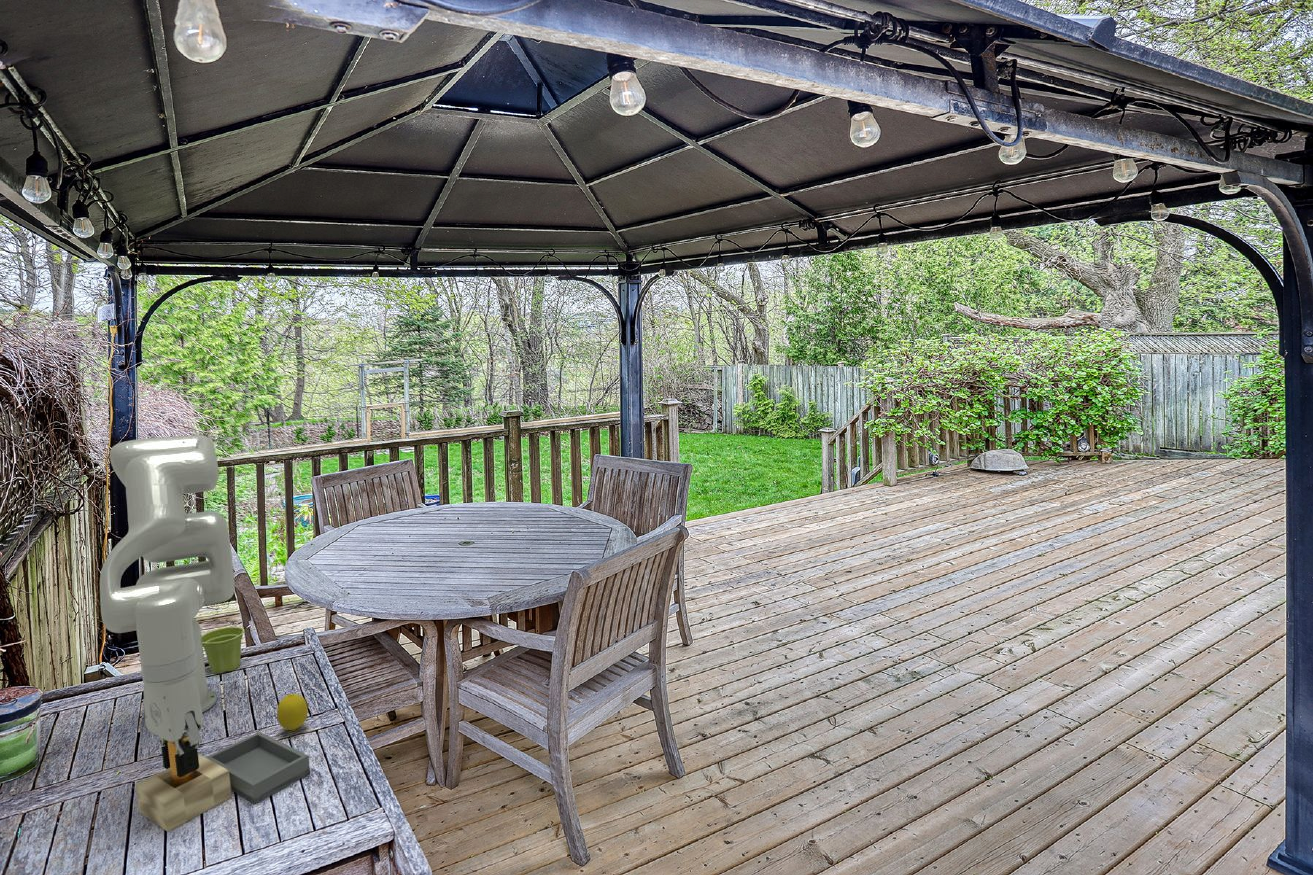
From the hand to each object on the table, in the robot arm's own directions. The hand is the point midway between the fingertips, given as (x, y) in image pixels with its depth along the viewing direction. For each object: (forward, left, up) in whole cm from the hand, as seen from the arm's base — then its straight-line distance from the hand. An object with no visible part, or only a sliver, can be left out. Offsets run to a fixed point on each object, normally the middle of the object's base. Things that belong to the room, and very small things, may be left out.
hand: (181, 767), depth 119 cm
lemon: (-6, +23, -7) cm, 25 cm away
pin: (0, 0, -7) cm, 7 cm away
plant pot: (-48, +31, -7) cm, 58 cm away
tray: (+2, +11, -7) cm, 13 cm away
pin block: (0, 0, -7) cm, 7 cm away
